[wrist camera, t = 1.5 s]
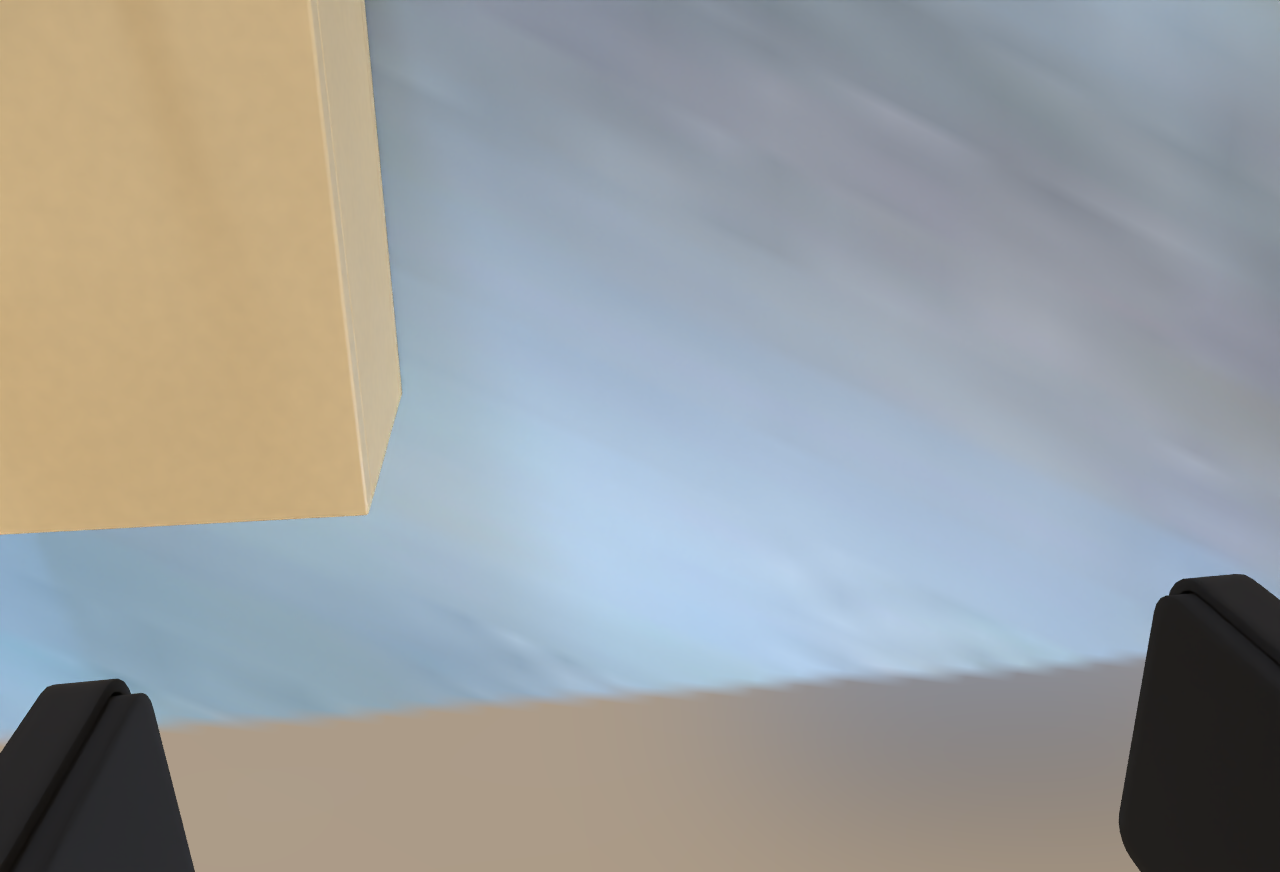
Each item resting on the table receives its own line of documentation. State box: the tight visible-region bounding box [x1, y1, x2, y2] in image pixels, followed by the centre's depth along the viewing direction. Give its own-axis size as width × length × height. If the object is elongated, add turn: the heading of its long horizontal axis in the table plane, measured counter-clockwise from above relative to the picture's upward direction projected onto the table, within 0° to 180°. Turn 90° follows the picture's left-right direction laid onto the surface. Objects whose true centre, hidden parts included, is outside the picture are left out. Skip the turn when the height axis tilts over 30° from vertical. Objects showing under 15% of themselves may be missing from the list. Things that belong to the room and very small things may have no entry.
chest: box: [316, 0, 402, 499], centre depth 27 cm, size 16×13×8 cm
